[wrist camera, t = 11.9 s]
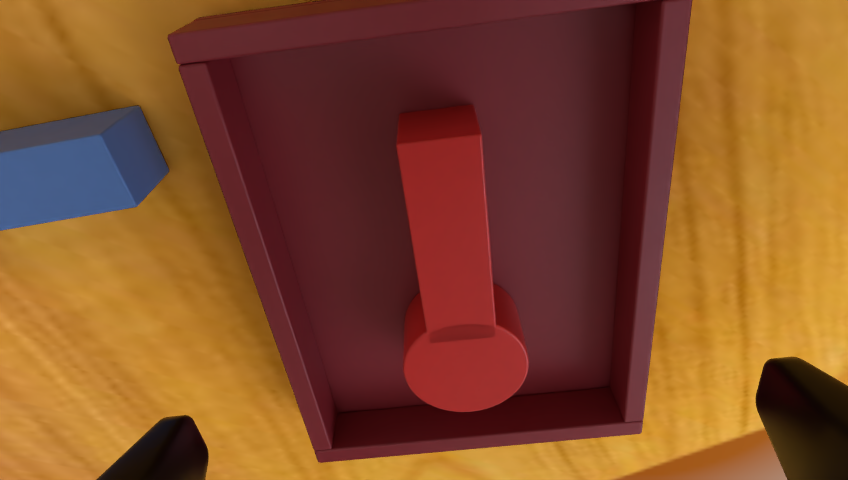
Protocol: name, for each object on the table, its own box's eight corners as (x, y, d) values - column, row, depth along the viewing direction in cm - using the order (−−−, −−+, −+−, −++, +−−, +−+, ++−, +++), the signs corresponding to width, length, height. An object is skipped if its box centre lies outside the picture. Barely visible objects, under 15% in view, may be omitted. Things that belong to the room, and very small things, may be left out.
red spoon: (365, 116, 13) (357, 149, 12) (507, 99, 13) (521, 128, 11) (412, 368, 18) (412, 418, 16) (519, 357, 17) (531, 407, 16)
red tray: (622, 388, 19) (642, 434, 17) (326, 416, 19) (318, 463, 18) (660, -48, 12) (698, -40, 10) (198, 17, 12) (164, 35, 11)
